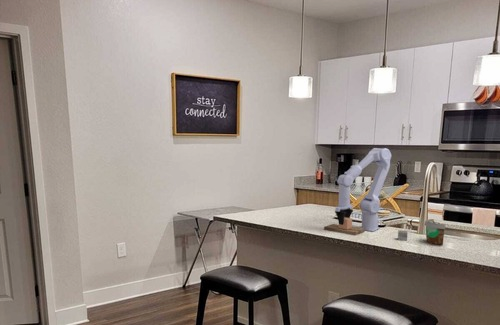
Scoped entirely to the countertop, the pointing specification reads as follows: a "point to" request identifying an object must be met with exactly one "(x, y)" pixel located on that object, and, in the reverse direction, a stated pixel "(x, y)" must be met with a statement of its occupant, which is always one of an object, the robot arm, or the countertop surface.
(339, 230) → the board
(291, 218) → the countertop surface
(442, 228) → the food container
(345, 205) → the robot arm
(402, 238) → the grey block
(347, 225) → the cube
